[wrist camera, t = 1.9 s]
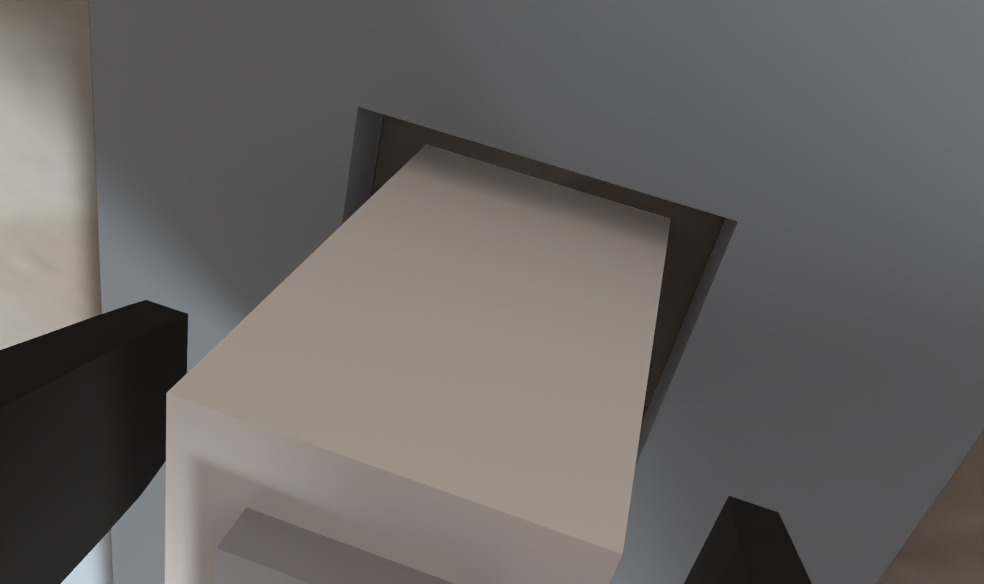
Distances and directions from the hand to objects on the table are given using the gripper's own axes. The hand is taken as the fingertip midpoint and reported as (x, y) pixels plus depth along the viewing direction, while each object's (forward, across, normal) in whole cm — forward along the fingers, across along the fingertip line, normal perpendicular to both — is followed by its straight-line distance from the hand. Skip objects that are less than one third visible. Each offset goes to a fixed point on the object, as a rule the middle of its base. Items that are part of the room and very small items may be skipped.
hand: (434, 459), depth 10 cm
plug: (+4, 0, 0) cm, 4 cm away
